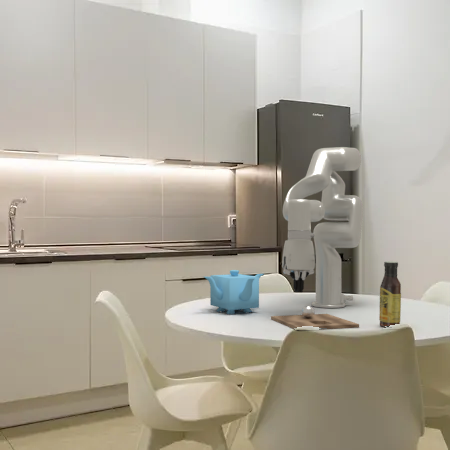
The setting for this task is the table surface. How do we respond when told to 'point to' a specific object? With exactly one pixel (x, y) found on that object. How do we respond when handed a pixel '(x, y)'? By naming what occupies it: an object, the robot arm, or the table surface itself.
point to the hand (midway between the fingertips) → (298, 291)
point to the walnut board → (315, 321)
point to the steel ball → (308, 311)
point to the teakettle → (234, 291)
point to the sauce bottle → (390, 296)
